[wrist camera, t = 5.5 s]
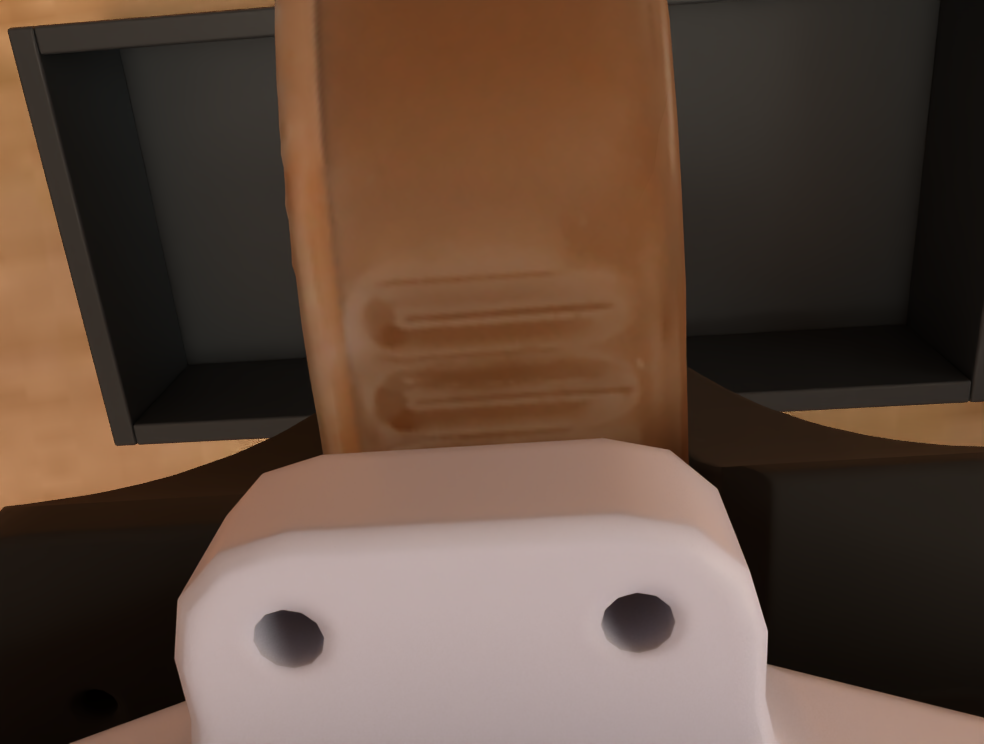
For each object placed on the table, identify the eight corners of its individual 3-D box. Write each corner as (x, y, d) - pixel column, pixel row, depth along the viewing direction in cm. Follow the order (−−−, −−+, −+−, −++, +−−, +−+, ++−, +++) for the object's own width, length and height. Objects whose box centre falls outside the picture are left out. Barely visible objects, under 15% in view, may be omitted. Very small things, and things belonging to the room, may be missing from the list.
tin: (390, -154, 12) (42, -419, 4) (627, -180, 12) (712, -520, 4) (485, 719, 18) (407, 1278, 10) (647, 719, 17) (696, 1302, 10)
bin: (958, -47, 19) (1064, -58, 15) (916, 334, 22) (994, 402, 18) (101, 22, 20) (4, 28, 16) (180, 375, 23) (114, 446, 20)
